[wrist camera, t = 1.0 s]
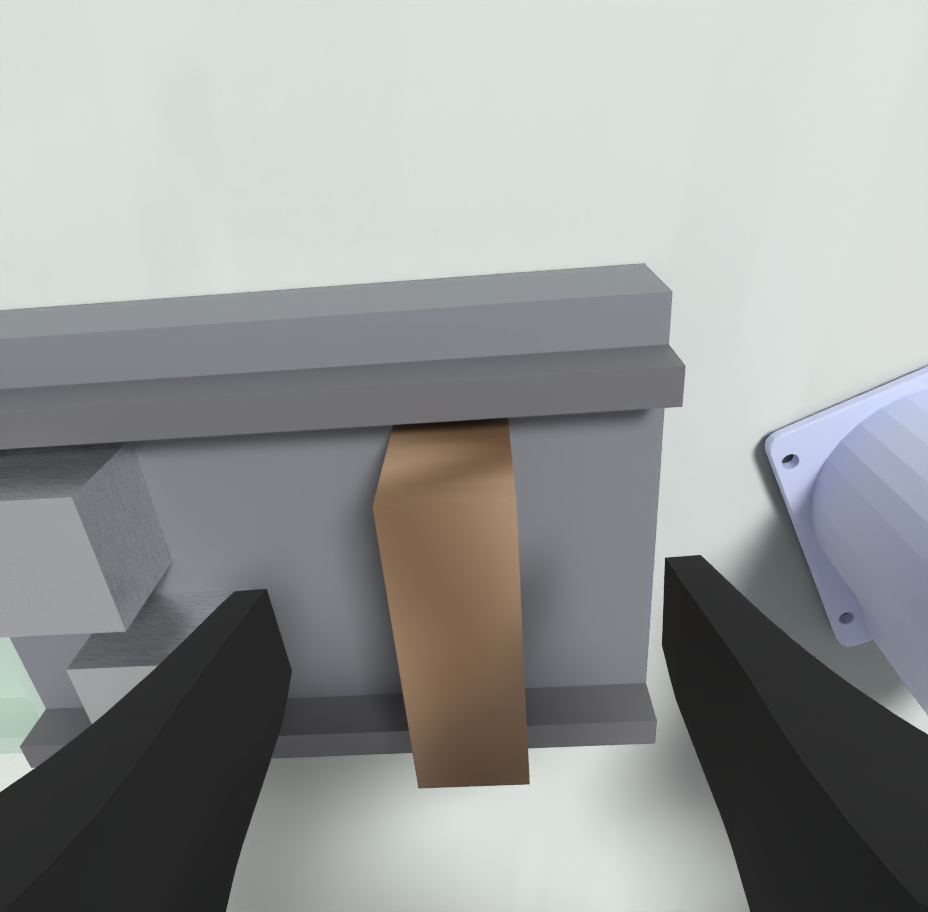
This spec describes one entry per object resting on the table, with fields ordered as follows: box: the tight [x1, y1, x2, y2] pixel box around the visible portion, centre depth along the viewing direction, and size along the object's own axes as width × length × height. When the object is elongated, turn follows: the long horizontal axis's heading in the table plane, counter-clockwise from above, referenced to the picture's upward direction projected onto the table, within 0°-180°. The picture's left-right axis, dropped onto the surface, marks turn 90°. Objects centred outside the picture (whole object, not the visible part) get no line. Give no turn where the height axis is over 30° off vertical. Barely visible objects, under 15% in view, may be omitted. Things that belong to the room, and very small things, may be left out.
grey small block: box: [0, 441, 172, 638], centre depth 18 cm, size 4×4×3 cm
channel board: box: [0, 264, 685, 768], centre depth 21 cm, size 20×15×4 cm
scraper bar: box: [373, 418, 530, 788], centre depth 18 cm, size 3×9×4 cm, turn 4°
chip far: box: [66, 589, 249, 724], centre depth 20 cm, size 4×4×3 cm
